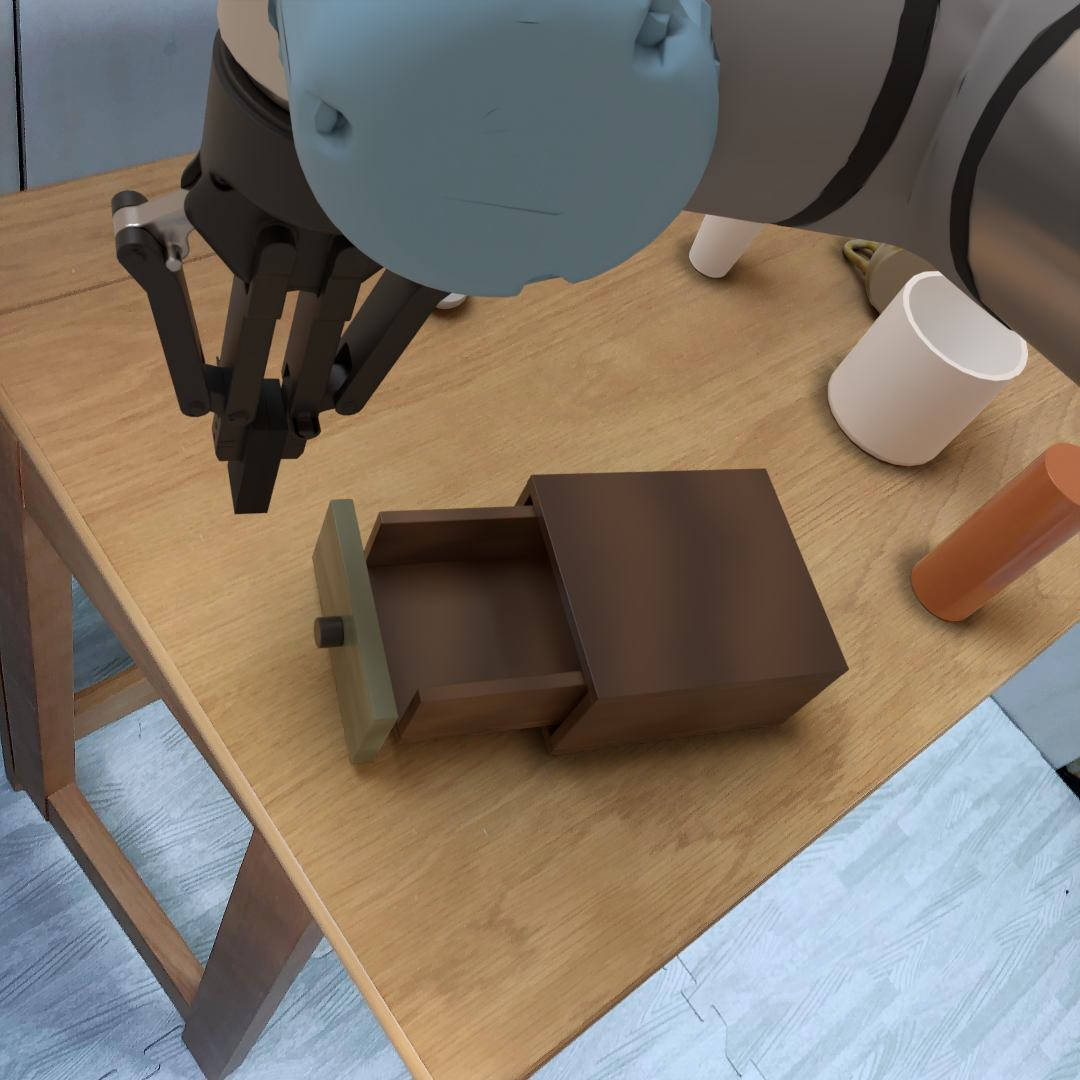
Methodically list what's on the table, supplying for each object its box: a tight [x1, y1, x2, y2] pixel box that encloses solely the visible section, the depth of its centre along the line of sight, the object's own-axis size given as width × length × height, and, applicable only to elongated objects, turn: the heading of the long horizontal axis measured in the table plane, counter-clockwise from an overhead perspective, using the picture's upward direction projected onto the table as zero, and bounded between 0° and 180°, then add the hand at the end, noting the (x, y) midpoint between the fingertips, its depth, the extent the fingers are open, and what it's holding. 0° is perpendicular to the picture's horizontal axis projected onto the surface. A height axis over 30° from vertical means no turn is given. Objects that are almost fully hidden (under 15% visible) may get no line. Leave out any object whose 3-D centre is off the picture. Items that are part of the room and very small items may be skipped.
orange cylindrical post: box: [910, 442, 1080, 622], centre depth 75 cm, size 5×5×14 cm
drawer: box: [311, 498, 589, 766], centre depth 62 cm, size 16×12×6 cm
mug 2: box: [827, 271, 1029, 467], centre depth 85 cm, size 13×10×10 cm
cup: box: [688, 214, 769, 279], centre depth 87 cm, size 5×5×12 cm
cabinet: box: [513, 467, 850, 756], centre depth 67 cm, size 16×14×8 cm
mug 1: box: [843, 239, 938, 316], centre depth 95 cm, size 8×10×10 cm
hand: (247, 488), depth 54 cm, fingers closed
